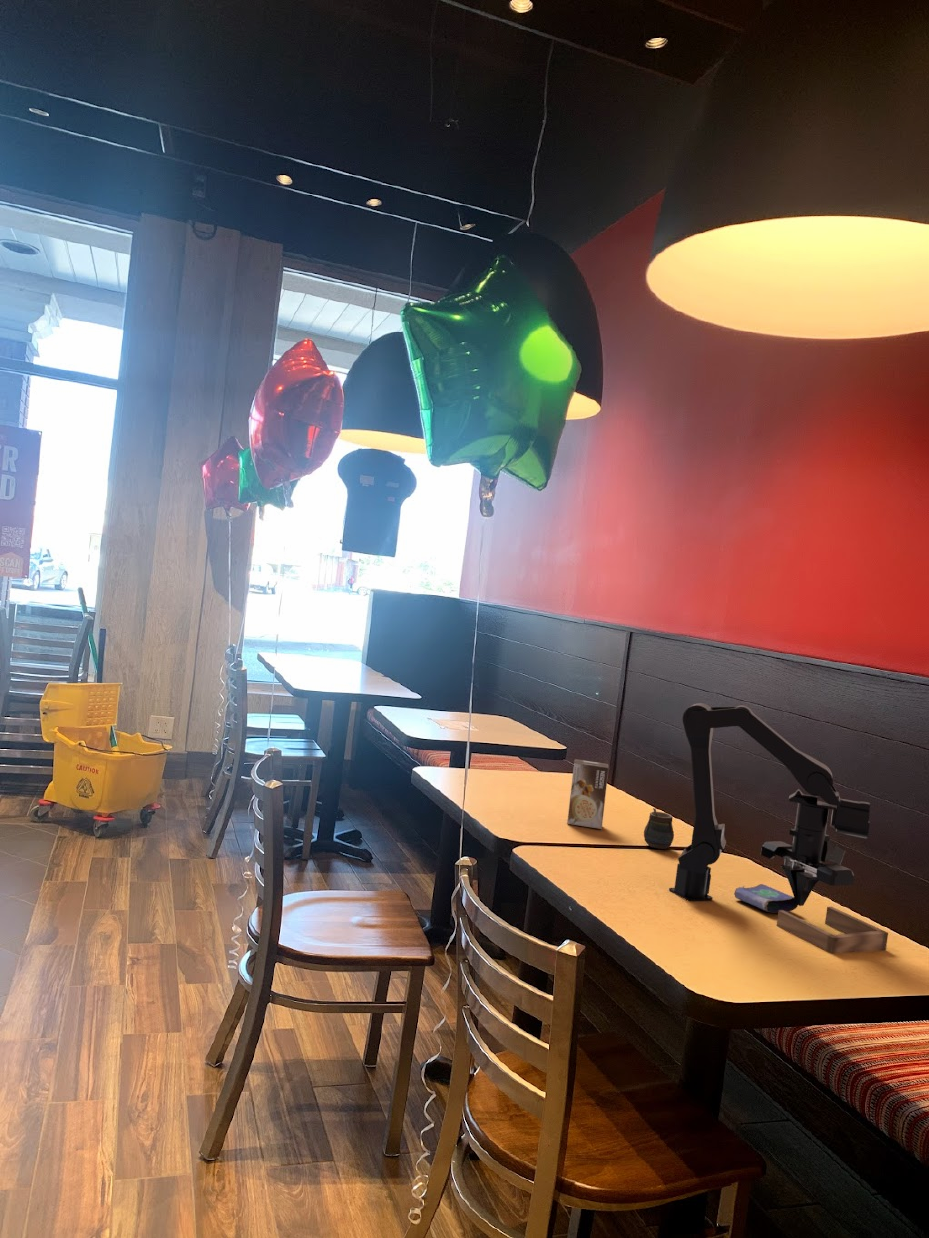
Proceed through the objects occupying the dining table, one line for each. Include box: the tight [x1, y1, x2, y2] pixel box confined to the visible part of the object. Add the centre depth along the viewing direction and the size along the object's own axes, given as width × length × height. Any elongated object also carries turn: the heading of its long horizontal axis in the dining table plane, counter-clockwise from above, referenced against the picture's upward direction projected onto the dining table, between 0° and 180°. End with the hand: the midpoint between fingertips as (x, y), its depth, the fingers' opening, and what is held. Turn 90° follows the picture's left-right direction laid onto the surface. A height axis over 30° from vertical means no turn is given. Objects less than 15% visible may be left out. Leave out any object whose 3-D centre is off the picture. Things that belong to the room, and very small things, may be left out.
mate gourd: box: [643, 807, 675, 850], centre depth 226 cm, size 7×8×10 cm
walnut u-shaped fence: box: [776, 906, 889, 955], centre depth 174 cm, size 14×13×4 cm
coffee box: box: [566, 758, 610, 830], centre depth 239 cm, size 9×6×16 cm
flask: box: [733, 883, 799, 914], centre depth 189 cm, size 9×3×11 cm
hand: (799, 905), depth 181 cm, fingers closed
